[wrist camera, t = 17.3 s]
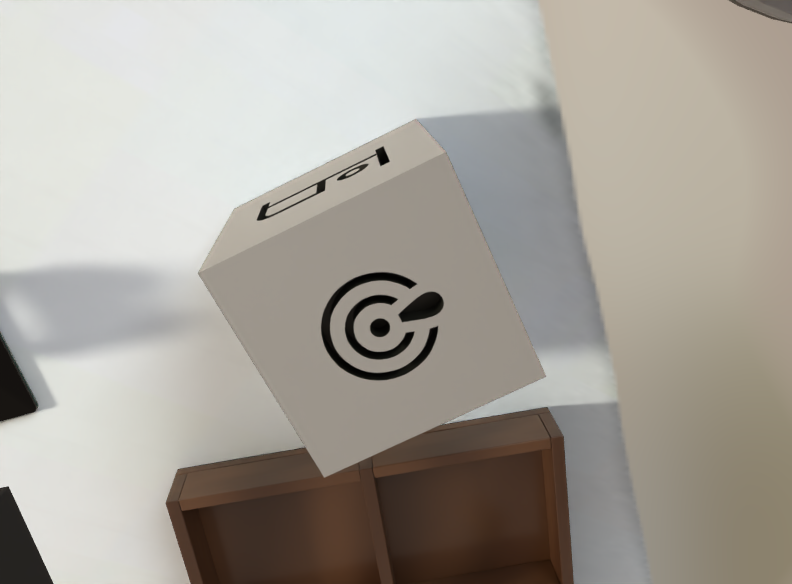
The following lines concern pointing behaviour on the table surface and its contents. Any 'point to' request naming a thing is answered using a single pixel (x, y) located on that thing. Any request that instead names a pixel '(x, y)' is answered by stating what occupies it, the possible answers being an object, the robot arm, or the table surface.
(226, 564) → the grid
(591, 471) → the table surface
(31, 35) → the table surface
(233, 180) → the table surface
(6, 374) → the build plate
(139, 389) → the table surface
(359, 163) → the icon cube
